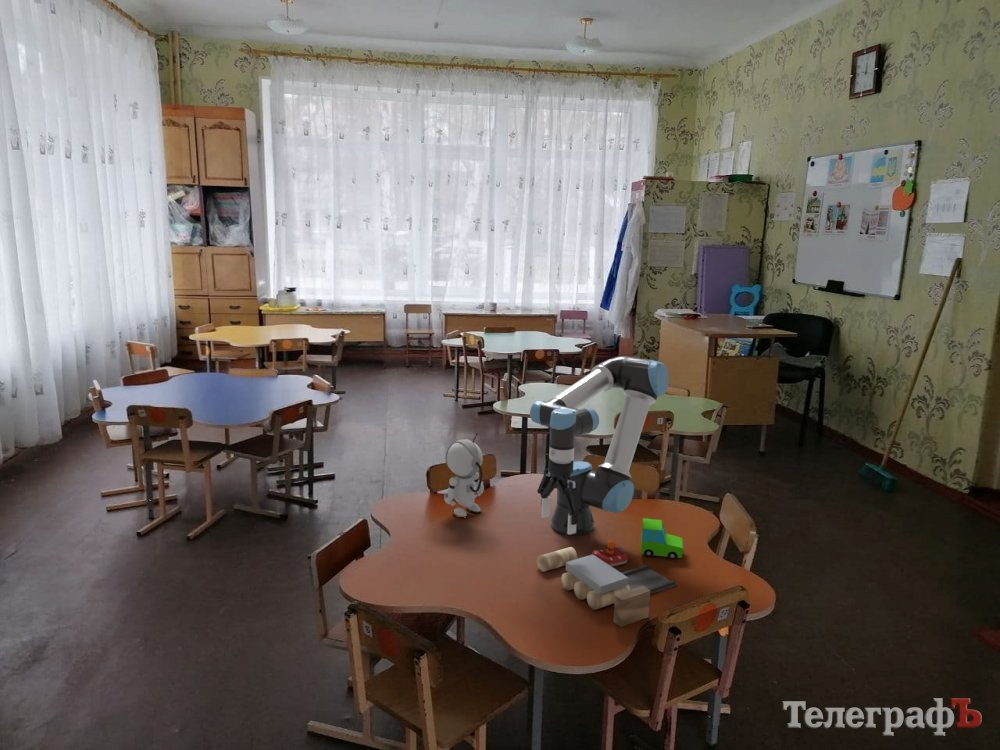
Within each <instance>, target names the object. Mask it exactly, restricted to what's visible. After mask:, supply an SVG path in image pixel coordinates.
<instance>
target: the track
mask: <svg viewBox="0 0 1000 750" xmlns="http://www.w3.org/2000/svg"><path fill="white" fill-rule="evenodd" d="M621 573H622V574H624V575H625V576H627V577H628V586H625V587H622V588H619V589H616V590H613V591H610V592H607V593H604V594H601V595H600V594H599V593H597V592H596V591H594V590H593V589H592V588H590V587H589V586H587V585H586V584H585V583H583V582H582V581H580V580H579V579H578V578H576V577H575V576H573V575H572V574H571V573H569V572H568V571H566V572H564V573H562V575H561V584H562V586H563V588H564V589H565V590H567V591H571V590H573V592H574V594H575V596H576V598H577V599H579V600H581V601H583V600H585V599H586V601H587V604H588V606H589V607H590V608H591V609H592V610H593V611H595V610H599V609H602V608H605V607H607V606H611V605H614V607H613V608H614V609H613V623H614V624H616V625H617V626H618V627H620V628H622V627H625V626H628V625H631V624H633V623H636V622H639V621H641V619H642V620H644V619H647V618H650V617H649V613H650V601H651V595H654V594H656V592H657V593H659V592H658V591H660V592H662V591H665V590H668V589H671V588H673V587H676V586H677V584H676V581H675V580H673V579H671V580H669V579H668V578H667V577H664V576H663V575H661V574H660V573H659V572H656V571H655V570H653V569H651V568H650V564H644V565H641V566H638V567H635V568H633V569H629V570H625V571H623V572H621ZM653 593H654V594H653ZM650 594H651V595H650Z"/></svg>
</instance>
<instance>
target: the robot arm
mask: <svg viewBox="0 0 1000 750" xmlns="http://www.w3.org/2000/svg"><path fill="white" fill-rule="evenodd" d="M669 379H670V378H669V372H668V368H667V366H666V365H665V364H664V362H661V361H658V360H654V359H647V358H639V357H635V356H628V355H620V356H615V357H612V358H609V359H606V360H604V361H601V362H600V363H599V364H597V365H595V366H593V367H592V369H591V370H590V373H588V374H587V375H585V376H584V377H582V378H580V379H579V380H578V381H576V382H575V383H573V384H571V385H570V386H569V387H567V388H566V389H563V390H562V391H561V392H559V393H558V394H556V395H555V396H554V397H552V398H551V399H549V400H547V401H545V400H537V401H536V400H535V401H534V402H533V403H532V405H531V407H530V408H529V409H530V410H529V417H530V420H531V421H532V422H533V423H535V424H539V425H541V426H544V427H548V428H549V453H548V458H549V460H548V468H545V469H544V470H543V475H542V479H541V481H540V483H539V486H538V488H537V494H540V497H541V518H542V519H545V518H550V516H551V499H552V498H551V494H552V493H553V491H554V490H555V489H556V506H555V508H554V511H553V514H552V516H551V519H550V520H551V521H550V526H551V529H553V530H554V531H556V532H558V533H561V534H564V535H569V536H582V535H587V534H589V533H591V532H593V530H594V529H595V528H594V527H595V520H594V516H593V513H592V510H591V509H592V508H591V507H593V508H596V509H599V510H602V511H604V512H607V513H608V512H609V513H613V514H619V513H621V512H623V511H624V510H626V509H627V508H628V506H629V505H630V503H631V501H632V500H633V497H634V493H635V491H634V490H635V487H634V483H633V482H632V481H631V479H632V475H631V473H630V468H631V466H632V461H633V459H634V455H635V452H636V450H637V446H638V443H639V440H640V437H641V435H642V434H641V433H642V431H643V428H644V425H645V421H646V419H647V416H648V413H649V409H650V407H651V405H653V404H656V402H657V399H658V397H662V396H664V395H665V394H666V392H667V391H668V386H669V383H670V382H669V381H670V380H669ZM614 388H615V389H622V392H623V394H624V397H625V399H624V402H623V405H622V408H621V411H620V414H619V417H618V420H617V424H616V427H615V429H614V432H613V435H612V439H611V442H610V443H609V448H608V450H607V453H606V457H605V460H604V462H603V463H601V464H599V465H598V467H597V469H596V470H593V465H592V464H591V463H590V462H589V461H579V460H577V461H574V459H575V439H576V438H578V437H581V436H583V435H586V434H587V435H588V434H590V433H591V432H594V431H595V430H596V429H598V427H599V425H600V417H599V414H598V413H597V412H596V410H595V409H593V408H589V407H587V408H582V409H579V408H580V407H582V406H584V405H585V404H586V403H588V402H589V401H591V400H592V399H594V398H595V397H596V396H597V395H599V394H600V393H602V392H607V391H611V389H614Z"/></svg>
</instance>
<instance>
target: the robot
mask: <svg viewBox="0 0 1000 750" xmlns="http://www.w3.org/2000/svg"><path fill="white" fill-rule="evenodd" d="M477 435H479V432H476V433H475V435H474V437H473V439H472V440H471V439H459V440H456V441H455V442H453V443H452V444H450V446H449V447H448V448H447V450H446V453H445V465H446V466H447V467H448V468H449V470H450V471H452V473H453V474H455V475H456V476H453V477H451V478H450V479H449V481H448V482H449V484H448V485H449V487H448V488H447V489H446V491H445V492H444V494H443V498H444V499H443V500H444V502H445V503H446V504H447V505H450V506H452V507H454V506H456V504H457V503H458V504H459V505H460V506H462V507H456V508H455V509H454V510H453V511H454V513H455V514H457V515H459V516H463V517H466V516H467V517H468V514H467V512H466V510H467V509H468V510H470V511H472V512H476V513H475V514H480V513H479V512H481V513H482V510H481V508H480V505H478V503H475V499H476V498H477V497H480V496H481V495H482V494H483V492H484V484H483V483H482V480H483V468H482V465H483V451H482V450H481V448H480V447H479V446H478V445H477V444H476V443H475V440H476V438H477ZM453 500H455V501H456V502H457V503H456V502H455V501H453ZM463 507H464V508H465V509H466V508H467V509H466V510H465V509H464V508H463ZM468 510H467V511H468ZM472 512H471V513H472Z"/></svg>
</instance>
